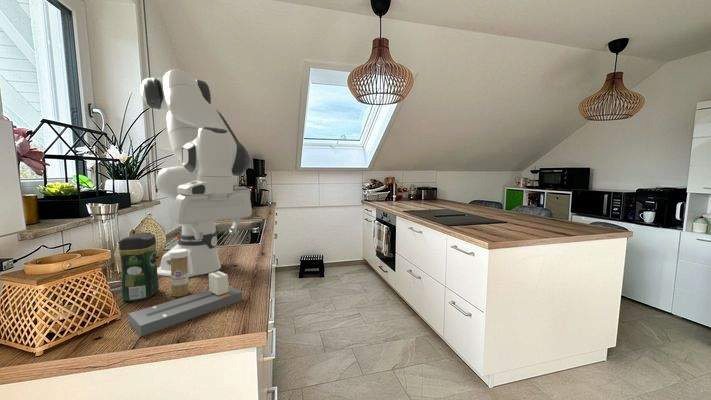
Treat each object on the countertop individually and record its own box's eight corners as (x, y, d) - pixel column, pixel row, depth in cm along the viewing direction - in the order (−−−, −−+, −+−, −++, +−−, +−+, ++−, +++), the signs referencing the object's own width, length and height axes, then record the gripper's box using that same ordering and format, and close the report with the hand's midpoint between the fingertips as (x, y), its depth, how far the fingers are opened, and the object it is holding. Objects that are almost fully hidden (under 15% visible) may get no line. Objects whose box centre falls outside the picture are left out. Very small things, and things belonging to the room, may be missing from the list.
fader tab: (217, 295, 78) (217, 277, 77) (209, 290, 81) (208, 273, 80) (228, 292, 80) (227, 274, 80) (219, 287, 83) (219, 270, 83)
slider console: (140, 336, 63) (140, 325, 62) (129, 323, 68) (128, 313, 68) (242, 300, 81) (242, 291, 81) (226, 292, 87) (226, 284, 87)
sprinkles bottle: (172, 298, 82) (170, 253, 81) (171, 293, 86) (169, 249, 85) (190, 294, 85) (188, 250, 84) (188, 289, 89) (187, 247, 88)
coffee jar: (132, 290, 88) (129, 231, 86) (162, 288, 90) (159, 230, 89) (116, 304, 78) (112, 238, 77) (149, 300, 81) (146, 236, 79)
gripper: (244, 185, 88) (244, 229, 90) (170, 187, 72) (171, 240, 74) (255, 186, 84) (256, 232, 86) (180, 188, 68) (181, 244, 70)
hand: (216, 236), depth 79 cm, fingers open, 8 cm apart
